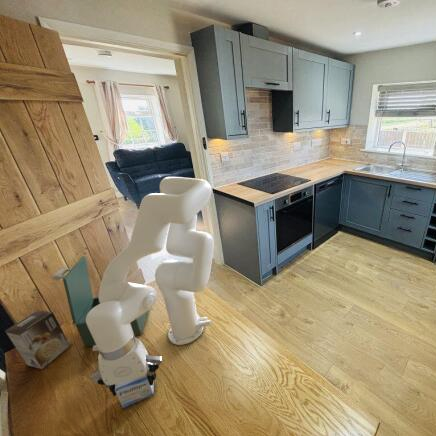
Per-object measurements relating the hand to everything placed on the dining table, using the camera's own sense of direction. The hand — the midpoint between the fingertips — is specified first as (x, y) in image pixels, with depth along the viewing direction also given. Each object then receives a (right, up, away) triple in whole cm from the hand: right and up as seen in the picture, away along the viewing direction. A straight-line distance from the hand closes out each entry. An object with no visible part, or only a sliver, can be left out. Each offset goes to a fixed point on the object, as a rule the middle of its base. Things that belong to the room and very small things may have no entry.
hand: (135, 385), depth 69 cm
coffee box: (-38, +1, +13) cm, 40 cm away
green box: (-22, +6, +25) cm, 34 cm away
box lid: (-29, +24, +14) cm, 40 cm away
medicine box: (0, -4, +2) cm, 5 cm away
